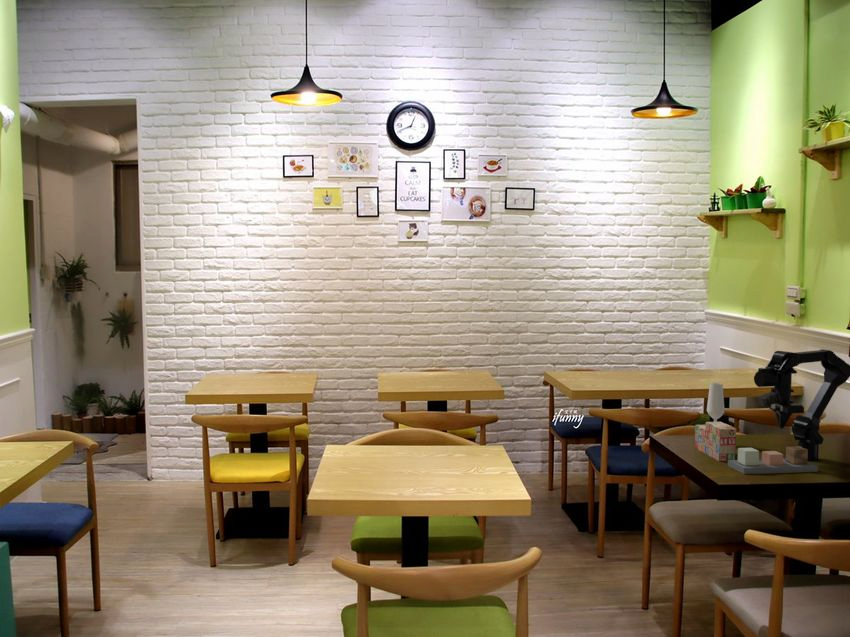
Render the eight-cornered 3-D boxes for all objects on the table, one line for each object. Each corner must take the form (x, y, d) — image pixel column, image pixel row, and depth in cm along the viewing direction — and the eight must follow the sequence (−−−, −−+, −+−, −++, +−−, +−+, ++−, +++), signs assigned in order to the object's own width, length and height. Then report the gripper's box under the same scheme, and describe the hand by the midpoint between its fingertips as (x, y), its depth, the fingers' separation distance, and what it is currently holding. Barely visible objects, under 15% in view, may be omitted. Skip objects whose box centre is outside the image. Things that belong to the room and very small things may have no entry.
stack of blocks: (694, 448, 306) (694, 416, 305) (709, 447, 307) (710, 416, 306) (719, 461, 285) (720, 428, 284) (735, 461, 285) (736, 428, 285)
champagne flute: (719, 445, 309) (721, 385, 308) (703, 443, 314) (704, 383, 312) (726, 442, 314) (728, 383, 313) (709, 440, 319) (711, 381, 317)
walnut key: (798, 460, 278) (799, 446, 278) (807, 463, 273) (807, 449, 273) (785, 460, 278) (786, 446, 277) (793, 464, 273) (794, 449, 272)
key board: (799, 463, 282) (799, 458, 282) (817, 471, 271) (817, 466, 271) (727, 465, 279) (727, 460, 278) (743, 474, 268) (743, 468, 268)
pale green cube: (751, 461, 276) (751, 447, 276) (758, 465, 271) (759, 450, 271) (737, 461, 276) (738, 447, 275) (744, 465, 271) (745, 451, 270)
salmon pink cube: (774, 464, 277) (775, 450, 277) (782, 468, 272) (783, 454, 272) (761, 465, 277) (762, 451, 276) (769, 468, 272) (769, 454, 272)
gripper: (748, 382, 292) (746, 423, 293) (776, 390, 274) (774, 434, 275) (776, 381, 293) (775, 423, 294) (805, 389, 275) (804, 433, 276)
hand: (781, 428), depth 285 cm, fingers closed
